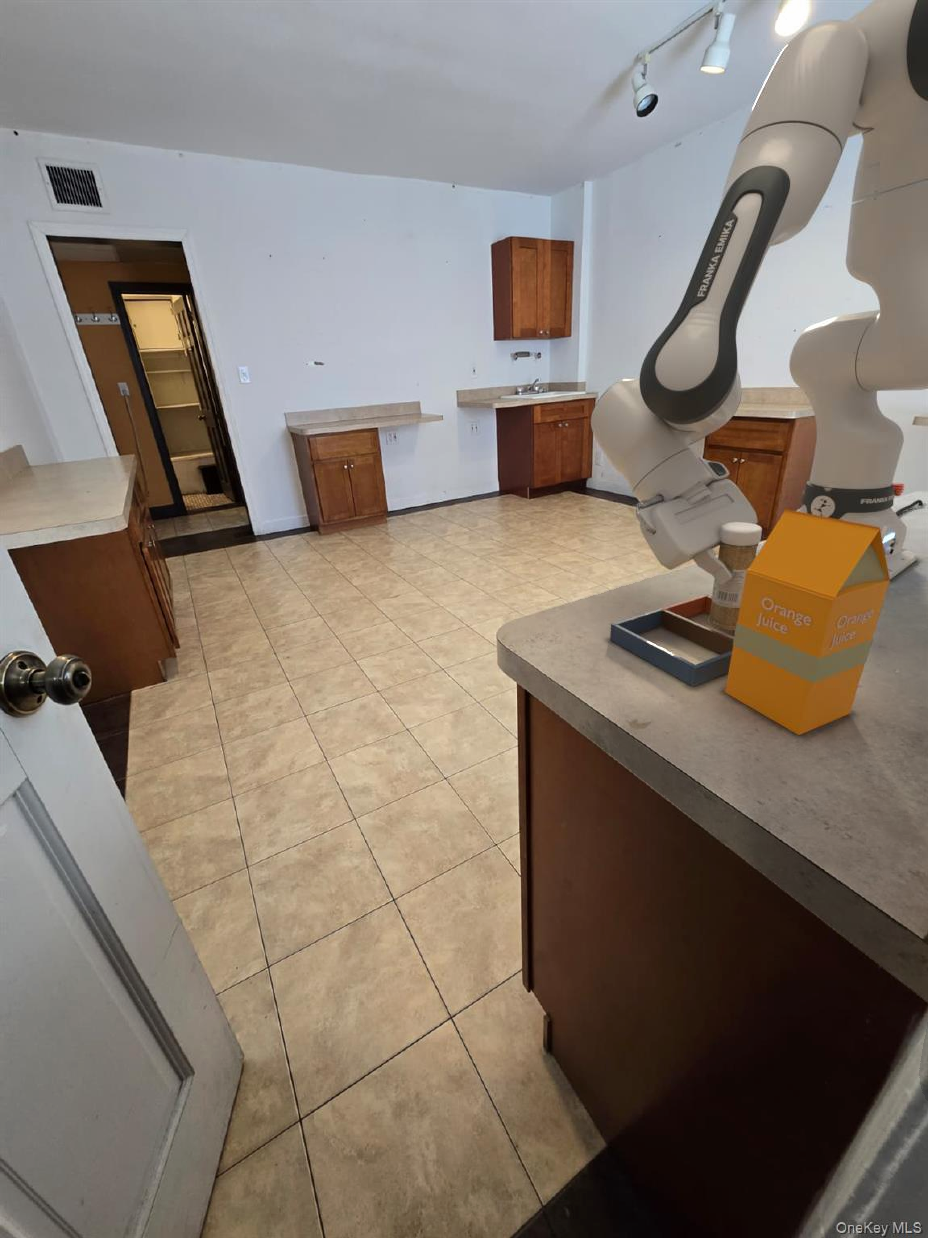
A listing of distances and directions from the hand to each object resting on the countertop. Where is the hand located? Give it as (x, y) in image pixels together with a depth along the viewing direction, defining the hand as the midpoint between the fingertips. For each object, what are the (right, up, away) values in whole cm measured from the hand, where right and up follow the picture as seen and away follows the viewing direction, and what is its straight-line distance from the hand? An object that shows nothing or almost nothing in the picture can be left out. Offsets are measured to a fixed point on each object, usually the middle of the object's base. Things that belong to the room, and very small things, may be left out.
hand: (739, 574), depth 65 cm
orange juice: (-1, -15, -11) cm, 18 cm away
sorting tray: (-4, -9, +2) cm, 10 cm away
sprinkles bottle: (0, -7, +4) cm, 7 cm away
